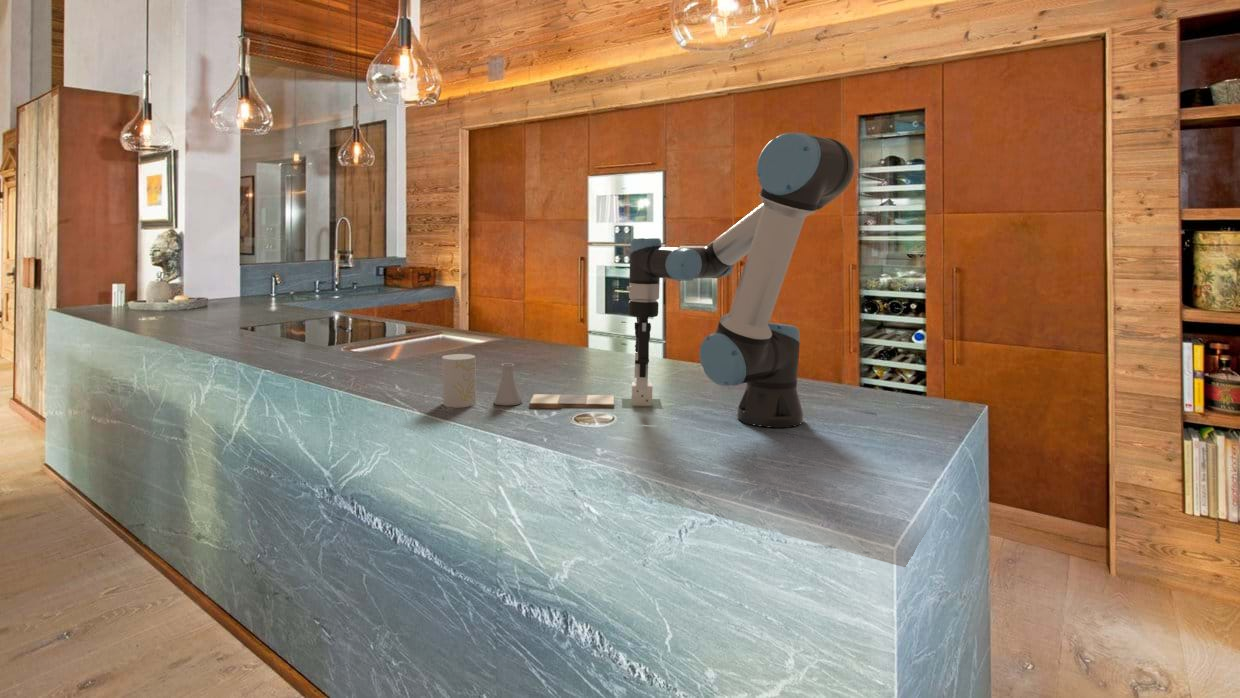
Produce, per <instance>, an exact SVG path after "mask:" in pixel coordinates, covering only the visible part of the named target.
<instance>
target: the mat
mask: <svg viewBox="0 0 1240 698" xmlns="http://www.w3.org/2000/svg"><path fill="white" fill-rule="evenodd" d="M621 407H622V409H663V405H662V402H661V399H660V398H652V406H632V398H621Z"/></svg>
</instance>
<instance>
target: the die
mask: <svg viewBox="0 0 1240 698" xmlns="http://www.w3.org/2000/svg"><path fill="white" fill-rule="evenodd" d="M652 383H653V382H651V381H648V386H647V390H636V381H631V397H630V399H632V406H652V399H653V384H652Z"/></svg>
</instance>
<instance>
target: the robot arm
mask: <svg viewBox="0 0 1240 698" xmlns="http://www.w3.org/2000/svg"><path fill="white" fill-rule="evenodd" d="M756 163H757V164H756V175H757V176H758V179H757V180H758V182H759V185H760V186H761V189H760V190H759V191H760V192H759V198H760V200H761V202H762V203H761V204H759V205H758V206H757V207H756V208H754V209H753V210H752V211H750V213H748V214H747V215H745V216H744V217H743V218H742V219H740V220H739V221H737V222H736V223H735V224H734V225H733V226H731V227H730V228H728V229H727V230H726V231H725V232H723V233H722V234H720V235H719V236H718V237H717V238H716V239H713V241H711V243H709V244H707V246H704V247H703V246H702V247H698V246H697V247H673V246H672V247H670V246H666V247H665V246H662V240H661V238H659V237H638V236H637V237H633V238H632V239H631V242H630V249H629V275H628V276H629V277H628V278H629V279H628V280H629V286H626V290H627V291H629V292H628V298H629V299H630V300H629V301H628V308H627V309H628V310H627V314H628V315H629V317H630V316H631V317H635V318H636V321H635V322H634V336H635V345H634V347H635V350H634V352H635V354H634V355H635V356H634V375H633V376H634V378H635V379H636V381H635V382H636V390H647V386H648V382H649V381H648V380H649V363H650V359H649V358H650V355H649V354H650V349H649V348H650V340H651V339H650V338H651V330H652V324H651V322H649V318H656V317H658V315H659V305H660V304H659V302H658V301H657V300H659V299H660V285H661V284H660V279H666V280H672V281H673V280H675V281H679V282H682V281H683V282H685V281H689V282H690V281H693V280H696V279H719V278H723V277H727V276H729V275H730V274H731V272H732V271H733V269H734V268H735V264H736V263H738V262H739V261H740V260H742V259H743V258H744V257H746V256H747V257H746V260H745V263H744V267H743V269H742V273H741V276H740V279H739V283H738V286H737V288H736V292H735V295H734V298H733V299H732V300H733V301H732V303H731V307H730V311H729V312H728V313H726V314H724V315H722V316H721V317H720V319H719V321H718V325H717V328H716V331H715V332H712V333H711V334H709V335H708V336H706V337H704V339H703V340H702V342H701V345H700V347H699V361H700V365H701V367H702V368H703V369H702V370H703V372H704V374H705V375H706V376H707V378H708V379H710V380H711V382H713V383H714V384H716V385H718V386H722V387H730V386H731V387H734V386H735V387H736V386H739V385H741V384H745V385H746V386H745V389H744V392H743V393H742V396H741V399H740V401H739V404H738V406H737V414H736V417H738V418H739V419H740V420H742V421H744V422H746V423H745V424H747V423H750V424H755V425H761V426H770V427H769V428H771V427H786V428H789V427H788V426H794V425H798V424H800V423H802V424H803V422H802V421H803V420H804V411H803V407H802V404H801V400H800V396H799V394H798V376H799V373H798V372H799V357H800V345H801V340H800V339H801V338H800V337H801V336H800V334H801V333H800V329H799V328H798V326H795V325H791V324H784V323H774V322H770V320H771V318H772V315H773V311H774V308H775V306H776V303H777V300H778V297H779V295H780V292H781V289H782V286H783V284H784V280H785V276H786V275H787V272H788V268H789V265H790V263H791V259H792V257H793V254H794V250H795V248H796V246H797V243H798V240H799V236H800V234H801V230H802V228H803V225H804V222H805V219H806V218H807V217H808V216H810V215H812V214H814V213H816V211H819V210H821V209H822V208H823V207H825V206H826V205H828V204H829V203H831V202H832V201H833V200H835V199H837V198H838V197H839V196H840V195H841V194H842V193H843V192H844V191H845V190H846V189H847V188H848V187H849V185H850V184H851V181H852V179H853V177H854V173H855V160H854V157H853V154H852V152H851V151H850V149H849V148H848V147H847V146H846V145H845V144H844V143H843V142H841V141H839V140H836V139H833V138H829V137H828V138H827V137H821V136H816V135H812V134H808V133H803V132H785V133H781V134H779V135H778V136H776V137H774V138H773V139H771V140H770V141H769V142H768V143H767V144H766V145H765V146H764V147H763V149H762V151H761V152H760V155H759V157H758V160H757V162H756ZM738 418H737V419H738ZM739 419H738V420H739ZM740 420H739V421H740ZM742 421H741V422H742ZM744 422H743V423H744ZM750 424H749V425H750ZM755 425H754V426H755ZM800 425H801V424H800ZM761 426H760V427H761ZM798 426H799V425H798ZM794 427H795V426H794Z"/></svg>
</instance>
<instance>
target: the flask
mask: <svg viewBox="0 0 1240 698" xmlns="http://www.w3.org/2000/svg"><path fill="white" fill-rule="evenodd" d="M500 367H501V368H502V374H501V379H500V382H499V385H498V389H497V393H495V394H496V395H495V398H494V400H493V403H494V405H497V406H505V407H506V406H517V405H519V404H522V403H523V401H522V397H521V395H520V393H519V389H518V386H517V385H516V381H515V378H514V367H515V364H514V363H509V362H508V363H501V366H500Z"/></svg>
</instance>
